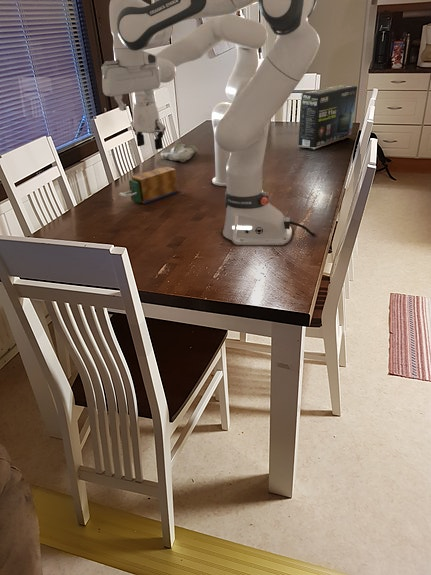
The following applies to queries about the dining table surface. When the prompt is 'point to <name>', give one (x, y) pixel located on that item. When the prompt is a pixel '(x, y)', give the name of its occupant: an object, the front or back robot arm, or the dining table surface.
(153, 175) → the cabinet
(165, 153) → the fossil
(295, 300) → the dining table surface
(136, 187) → the drawer
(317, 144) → the router box
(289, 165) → the dining table surface
